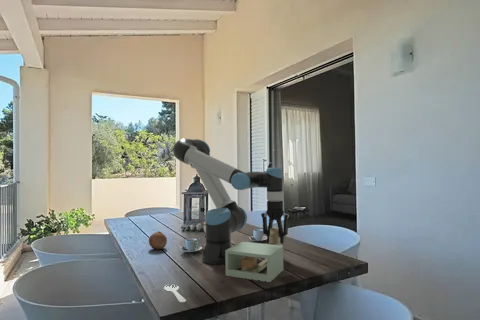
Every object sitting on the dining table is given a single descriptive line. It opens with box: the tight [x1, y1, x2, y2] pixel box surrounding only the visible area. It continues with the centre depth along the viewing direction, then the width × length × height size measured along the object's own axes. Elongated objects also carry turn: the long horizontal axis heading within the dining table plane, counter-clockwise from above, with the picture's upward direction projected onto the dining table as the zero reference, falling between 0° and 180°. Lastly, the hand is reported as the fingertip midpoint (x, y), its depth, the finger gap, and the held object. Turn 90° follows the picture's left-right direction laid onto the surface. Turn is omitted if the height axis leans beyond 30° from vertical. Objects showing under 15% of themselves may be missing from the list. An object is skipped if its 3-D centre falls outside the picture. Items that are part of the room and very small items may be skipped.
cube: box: [240, 256, 258, 271], centre depth 144 cm, size 5×5×5 cm
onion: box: [148, 231, 168, 251], centre depth 180 cm, size 10×9×10 cm
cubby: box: [225, 241, 284, 283], centre depth 141 cm, size 19×16×10 cm
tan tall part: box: [243, 226, 280, 273], centre depth 151 cm, size 7×27×14 cm, turn 154°
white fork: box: [163, 283, 187, 303], centre depth 120 cm, size 5×18×1 cm, turn 28°
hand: (275, 249), depth 161 cm, fingers closed on tan tall part, 4 cm apart
